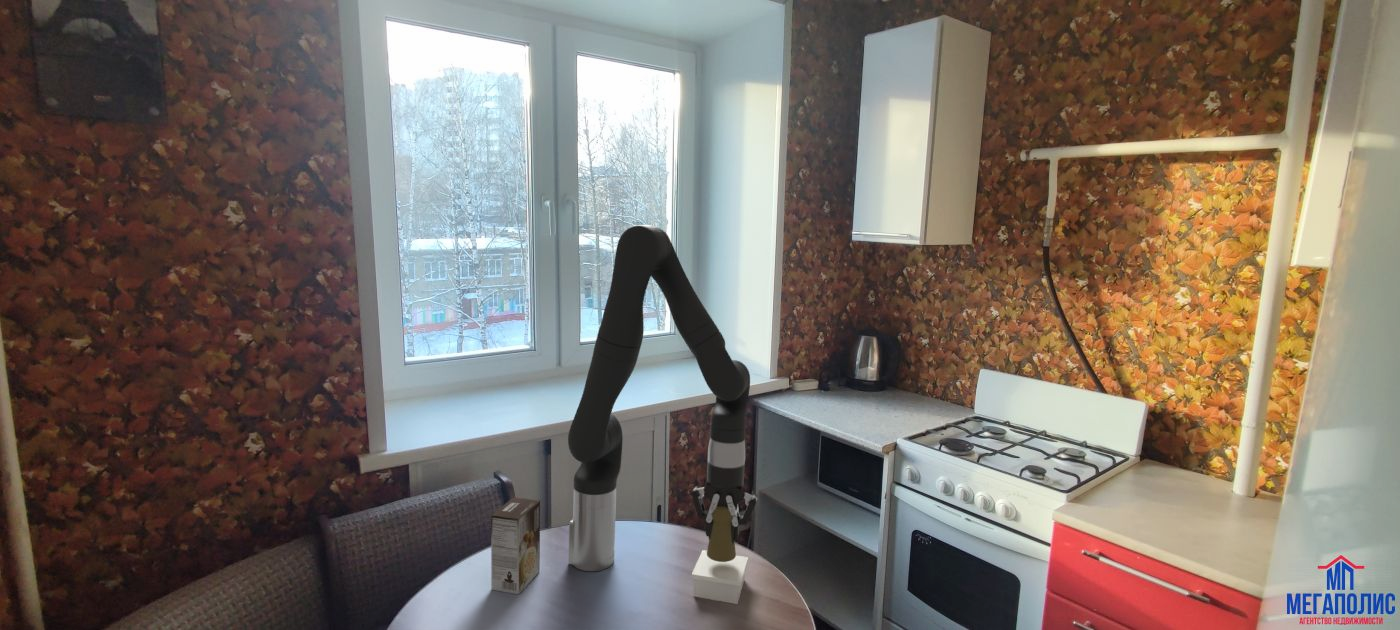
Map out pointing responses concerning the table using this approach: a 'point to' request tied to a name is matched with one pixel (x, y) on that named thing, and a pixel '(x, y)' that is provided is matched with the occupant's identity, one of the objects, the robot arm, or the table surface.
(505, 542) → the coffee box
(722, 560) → the cork
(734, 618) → the table surface
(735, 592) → the podium
